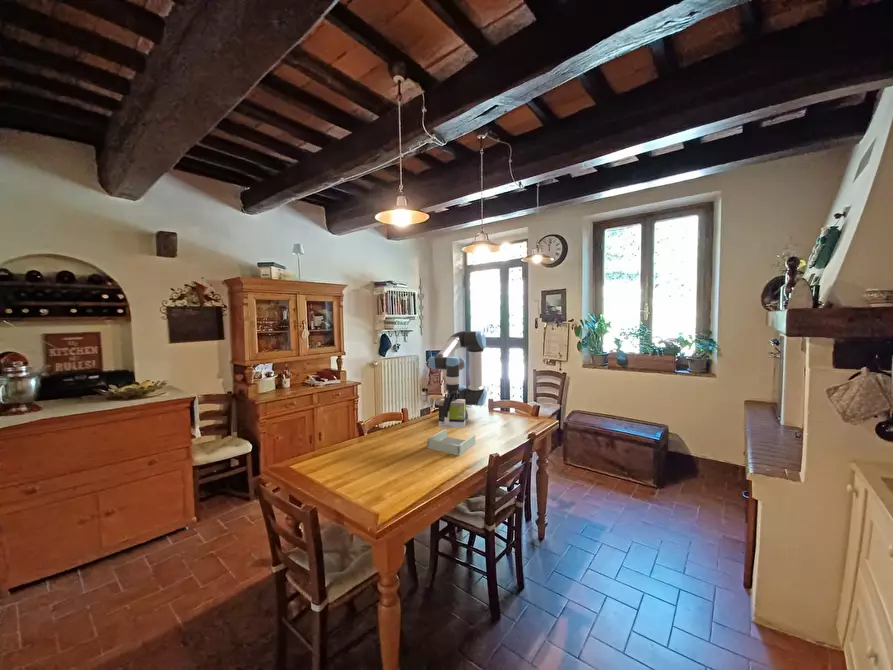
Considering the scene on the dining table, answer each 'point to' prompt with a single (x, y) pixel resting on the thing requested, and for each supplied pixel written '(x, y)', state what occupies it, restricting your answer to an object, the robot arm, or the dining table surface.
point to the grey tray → (450, 443)
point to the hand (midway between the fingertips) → (452, 419)
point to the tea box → (453, 414)
